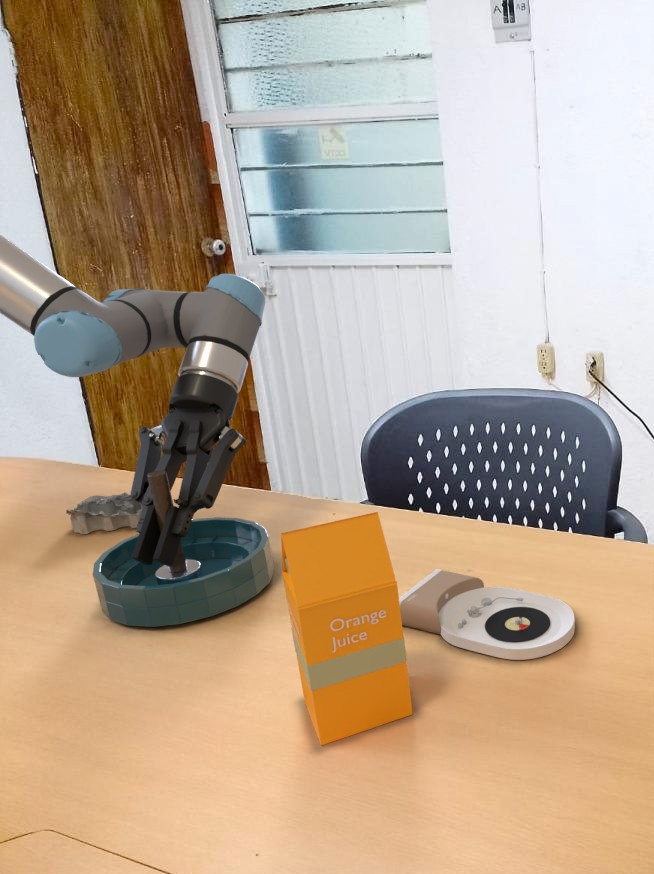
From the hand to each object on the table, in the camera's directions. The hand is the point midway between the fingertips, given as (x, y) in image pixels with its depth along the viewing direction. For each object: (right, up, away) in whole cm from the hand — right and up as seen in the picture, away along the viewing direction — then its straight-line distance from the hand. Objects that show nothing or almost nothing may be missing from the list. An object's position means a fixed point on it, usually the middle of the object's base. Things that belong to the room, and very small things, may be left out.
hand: (152, 561), depth 96 cm
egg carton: (-21, +2, +29) cm, 36 cm away
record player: (+40, -7, -1) cm, 40 cm away
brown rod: (+1, -3, +5) cm, 6 cm away
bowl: (0, -5, +9) cm, 10 cm away
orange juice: (+28, -13, -15) cm, 34 cm away
